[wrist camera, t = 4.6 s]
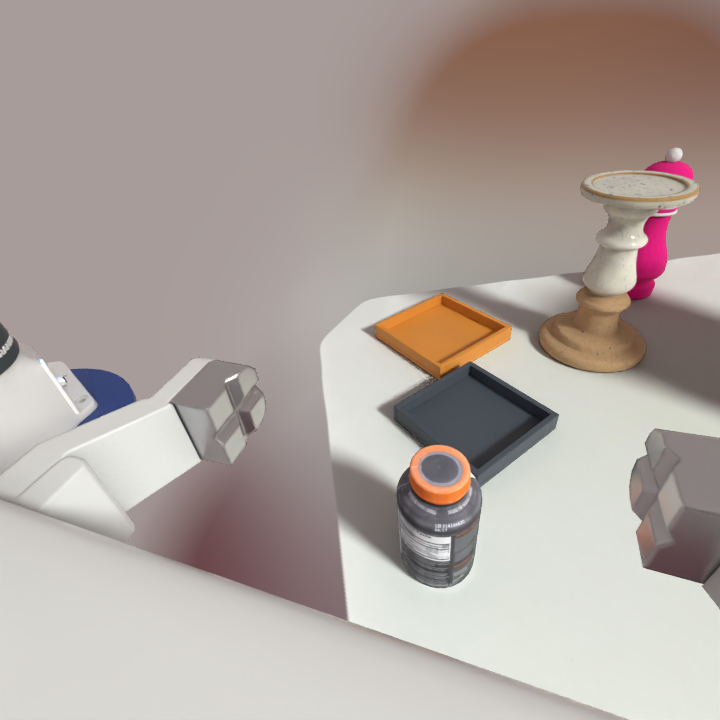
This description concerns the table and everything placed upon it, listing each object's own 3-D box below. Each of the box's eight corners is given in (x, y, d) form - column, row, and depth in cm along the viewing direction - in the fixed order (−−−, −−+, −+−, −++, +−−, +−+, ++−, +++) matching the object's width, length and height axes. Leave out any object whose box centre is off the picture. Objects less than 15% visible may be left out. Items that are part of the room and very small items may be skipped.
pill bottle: (450, 510, 37) (457, 422, 30) (488, 573, 32) (507, 486, 25) (388, 534, 36) (382, 447, 29) (419, 603, 31) (419, 519, 24)
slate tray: (394, 419, 46) (393, 405, 45) (468, 374, 51) (470, 360, 50) (476, 490, 38) (478, 476, 37) (555, 428, 43) (559, 414, 42)
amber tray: (375, 336, 60) (374, 324, 58) (441, 304, 65) (441, 292, 64) (439, 381, 51) (440, 367, 50) (510, 339, 56) (512, 326, 55)
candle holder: (579, 310, 61) (619, 161, 48) (665, 349, 52) (741, 180, 40) (518, 339, 56) (546, 184, 44) (600, 387, 47) (663, 211, 35)
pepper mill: (666, 297, 61) (727, 149, 49) (620, 304, 61) (670, 157, 49) (633, 276, 67) (681, 139, 55) (591, 283, 66) (630, 146, 54)
